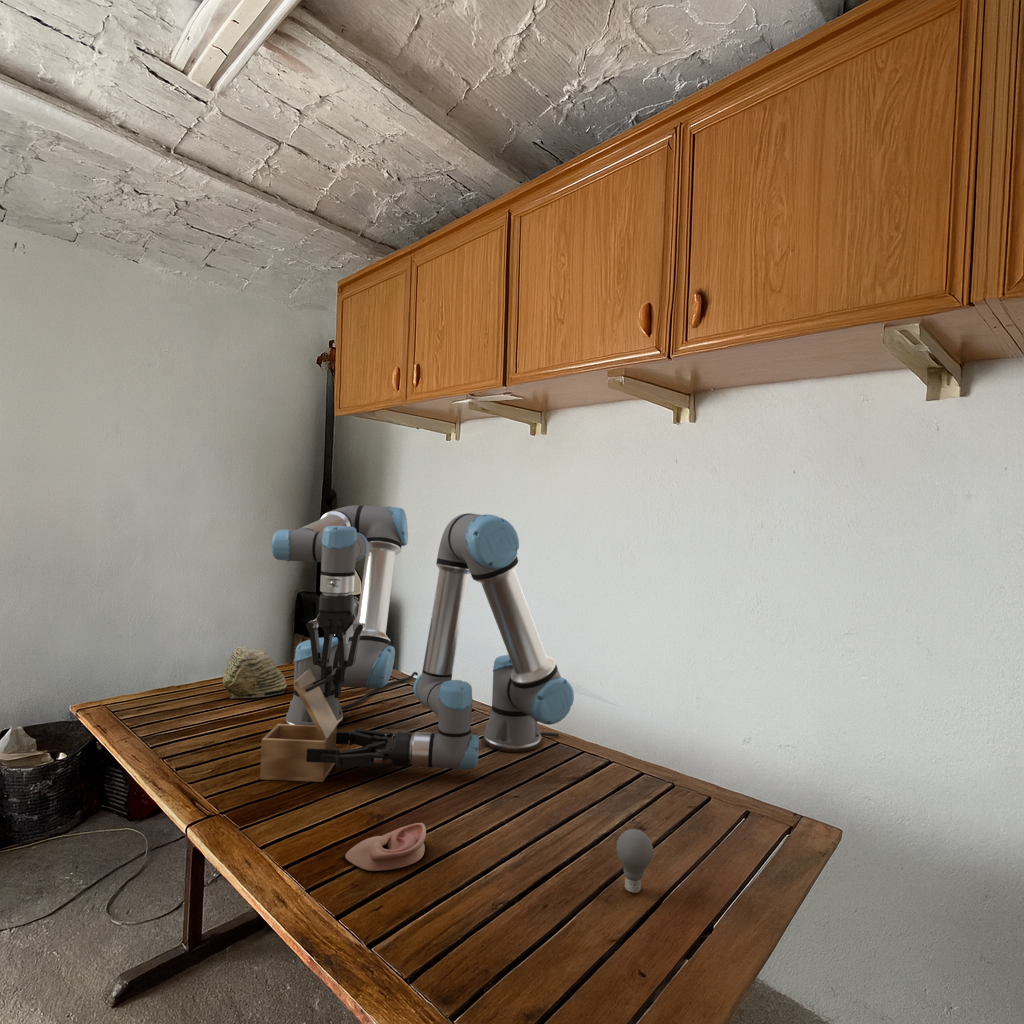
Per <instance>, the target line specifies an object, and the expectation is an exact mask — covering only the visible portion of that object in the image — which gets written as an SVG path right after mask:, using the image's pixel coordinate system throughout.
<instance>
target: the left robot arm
mask: <svg viewBox="0 0 1024 1024" xmlns="http://www.w3.org/2000/svg"><path fill="white" fill-rule="evenodd" d="M408 542H409V528H408V518H407V514H406V511H405V510H404V509H403V508H402V507H397V506H390V505H388V506H379V505H358V504H357V505H356V504H355V505H347V506H344V507H339V508H336V509H332V510H329V511H327V512H325V513H324V514H323V515H322V516H321V517H320V518H319V519H318V520H315V521H314V522H311V523H309V524H307V525H304V526H302V527H300V528H297V529H288V528H287V529H278V530H276V531H275V532H274V533H273V536H272V539H271V554H272V556H273V558H274V559H276V560H277V561H286V562H310V563H311V562H312V563H313V562H314V563H320V583H319V584H320V586H319V591H320V592H321V594H320V595H319V606H318V607H319V609H318V614H317V615H316V618H315V619H313V620H309V621H308V622H306V623H305V627H306V629H307V632H308V633H309V639H307V640H304V641H302V642H300V643H298V644H297V645H296V648H295V655H294V660H293V662H294V672H293V682H294V681H296V680H297V679H298V678H299V677H300V676H301V675H303V674H304V673H305V672H306V671H307V670H309V669H310V670H311V672H312V674H313V676H314V678H315V680H318V679H320V678H321V681H322V680H324V679H326V677H327V676H328V675H329V674H330V673H331V672H332V671H333V670H334V669H335V668H337V669H336V673H335V679H334V680H333V681H332V682H326V683H324V684H322V685H320V686H319V687H320V689H321V691H322V693H323V695H324V697H325V699H326V701H327V703H328V704H329V706H330V708H331V710H332V712H333V714H334V716H335V718H336V720H337V722H338V724H337V727H339V726H340V725H342V723H343V722H344V714H343V710H344V709H347V708H350V707H353V706H355V705H357V704H359V703H361V702H363V701H364V700H365V699H367V698H368V697H370V695H372V694H374V693H376V692H377V691H379V690H382V689H383V688H386V687H389V686H391V685H394V684H397V683H402V682H405V681H409V680H411V679H413V677H414V676H419V673H418V672H417V671H413V672H412V673H411V675H410V676H407V677H403V678H400V679H395V680H393V681H390V678H391V675H392V672H393V668H394V663H395V657H396V656H395V655H396V650H395V647H394V646H392V645H391V639H390V638H389V637H388V635H387V628H388V627H387V626H388V619H389V610H390V603H391V602H390V601H391V593H392V587H393V586H392V585H393V578H394V571H395V570H394V569H395V560H396V557H397V556H398V555H399V554H401V552H402V547H405V546H407V545H408ZM364 558H365V560H364V567H363V574H362V580H361V587H360V594H359V602H358V609H357V617H355V614H354V604H355V602H354V601H355V596H354V594H352V593H354V592H355V582H356V581H355V578H356V577H355V575H356V564H357V563H359V562H361V561H362V560H363V559H364ZM319 626H320V628H321V629H322V631H323V637H322V636H321V637H320V636H319V630H318V628H319ZM351 627H352V630H353V633H351V634H350V635H349V636H348V641H347V632H348V631H349V629H350V628H351ZM334 635H336V636H335V637H334ZM389 681H390V682H389ZM342 688H355V689H357V688H358V689H368V690H370V689H371V690H370V691H368V692H367V693H366V694H364V695H363V696H362V697H361V698H359V699H356V700H355V701H353V702H350V703H348V704H344V705H341V702H340V699H339V698H340V696H341V695H342ZM292 696H293V697H292V699H291V701H290V702H289V708H288V711H287V713H286V715H285V724H295V725H315V724H314V722H313V720H312V719H311V717H310V715H309V713H308V711H307V709H306V707H305V705H304V703H303V701H302V700H301V698H300V696H299V694H298V692H297V690H296V688H295V686H294V685H293V695H292Z"/></svg>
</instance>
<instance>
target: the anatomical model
mask: <svg viewBox="0 0 1024 1024" xmlns="http://www.w3.org/2000/svg"><path fill="white" fill-rule="evenodd" d="M426 837H427V827H426V824H425V823H423V822H415V823H412V824H408V825H404V826H402V827H399V828H396V829H394V830H392V831H390V832H388V833H384V834H382V835H375V836H372V837H367V838H365V839H364V840H361V841H360V842H358V843H357V844H356V845H353V847H351V848H350V849H349V850H348V851H347V852H346V853H345V856H344V857H345V860H347V862H349V863H350V864H352V865H354V866H356V867H357V868H360V869H362V870H364V871H367V872H378V871H380V872H381V871H389V870H396V869H400V868H404V867H407V866H410V865H412V864H415V863H417V862H418V861H420V860H421V859H422V858H423V857H424V854H425V851H426V849H425V848H426V846H425V843H424V842H425V840H426Z"/></svg>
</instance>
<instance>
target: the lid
mask: <svg viewBox="0 0 1024 1024" xmlns="http://www.w3.org/2000/svg"><path fill="white" fill-rule="evenodd" d="M336 669H337V668H335V669H334V670H333V671H332V672H331V673H330V674H329V675H328V676H327V677H326V679H324V680H322V681H321V678H320V679H318V680H315V678H314V676H313V674H312V672H311V670H310V669H309V670H307V671H306V672H305V673H304V674H303V675H301V676H300V677H299V678H298V679H297V680H296V681H294V680H293V682H292V684H293V687H294V686H295V688H296V690H297V692H298V694H299V696H300V698H301V700H302V701H303V703H304V705H305V707H306V709H307V711H308V713H309V715H310V717H311V719H312V720H313V722H314V724H315V726H316V728H317V730H318V732H319V734H320V736H321V737H322V739H323V740H325V739H327V738H328V736H329V735H330V734H331V732H332V731H333V730H334V728H335V727H336V726H337V724H338V722H337V720H336V718H335V716H334V714H333V712H332V710H331V708H330V706H329V704H328V703H327V701H326V699H325V697H324V695H323V693H322V691H321V689H320V687H319V686H320V685H322V684H324V683H326V682H332V681H333V680H334V679H335V673H336ZM337 727H338V726H337Z"/></svg>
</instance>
